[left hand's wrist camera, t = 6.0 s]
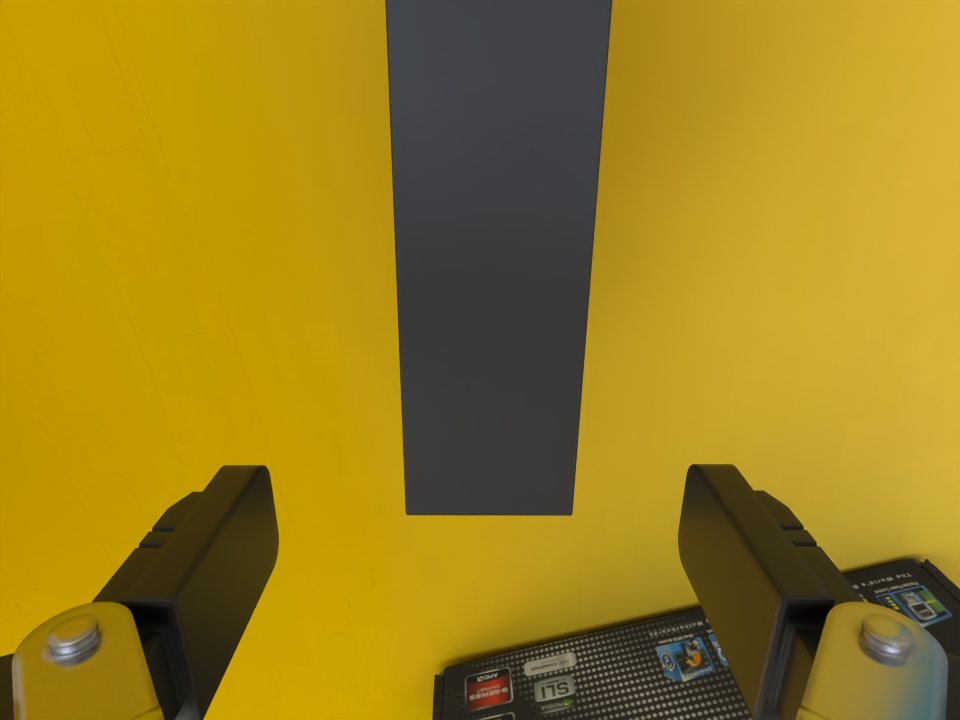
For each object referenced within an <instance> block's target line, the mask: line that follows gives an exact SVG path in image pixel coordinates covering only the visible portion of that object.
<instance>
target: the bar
mask: <svg viewBox="0 0 960 720" xmlns="http://www.w3.org/2000/svg"><path fill="white" fill-rule="evenodd" d="M385 3H386V28H387V53H388V78H389V103H390V128H391V154H392V179H393V204H394V229H395V254H396V279H397V305H398V330H399V355H400V380H401V405H402V430H403V455H404V481H405V506H406V515H572V511H573V498H574V485H575V473H576V460H577V447H578V434H579V421H580V408H581V395H582V383H583V370H584V357H585V344H586V331H587V318H588V305H589V293H590V280H591V267H592V254H593V241H594V228H595V215H596V203H597V190H598V177H599V164H600V151H601V138H602V126H603V113H604V100H605V87H606V74H607V61H608V48H609V36H610V23H611V10H612V0H385Z"/></svg>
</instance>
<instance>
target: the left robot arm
mask: <svg viewBox="0 0 960 720" xmlns="http://www.w3.org/2000/svg"><path fill="white" fill-rule="evenodd" d="M803 527H804V526H803V525H802V524H801V523H800V521H799V520H798V519H797V518H796V516H795V515H794V514H793V513H792V511H791V510H790V509H789V508H788V507H787V506H786V505H784V504H783V503H781V502H780V501H778V500H777V499H775V498H774V497H772V496H771V495H769V494H768V493H766V492H765V491H753V489H752V488H751V487H750V485H749V484H748V483H747V481H746V480H745V479H744V477H743V476H742V475H741V473H740V472H739V471H738V469H737V468H736V467H735V466H734V465H732V464H693V465H691V466H690V467H689V469H688V472H687V476H686V483H685V490H684V497H683V504H682V511H681V518H680V525H679V532H678V546H679V554H680V558H681V562H682V565H683V568H684V570H685V572H686V574H687V576H688V579H689V581H690V583H691V585H692V587H693V589H694V592H695V594H696V596H697V598H698V600H699V602H700V605H701V607H702V609H703V611H704V613H705V615H706V618H707V620H708V622H709V624H710V626H711V628H712V631H713V633H714V635H715V637H716V639H717V641H718V644H719V646H720V648H721V650H722V652H723V654H724V657H725V659H726V661H727V663H728V665H729V667H730V670H731V672H732V674H733V676H734V678H735V680H736V683H737V685H738V687H739V689H740V691H741V693H742V696H743V698H744V700H745V702H746V704H747V707H748V709H749V711H750V713H751V715H752V717H753V720H960V656H958V655H954V654H950V653H946V652H945V651H944V650H943V648H942V646H941V645H940V644H939V642H938V641H937V640H936V639H935V638H934V637H933V636H932V635H931V634H930V633H929V632H928V631H927V630H926V629H924V628H923V627H922V626H920V625H919V624H918V623H916V622H915V621H913V620H911V619H910V618H908V617H906V616H904V615H902V614H901V613H898V612H896V611H894V610H891V609H889V608H886V607H883V606H880V605H876V604H872V603H865V602H864V601H863V599H862V598H861V597H860V596H859V594H858V593H857V592H856V591H855V589H854V588H853V587H852V586H851V584H850V583H849V582H848V581H847V579H846V578H845V577H844V576H843V575H842V573H841V572H840V571H839V570H838V568H837V567H836V566H835V565H834V563H833V562H832V561H831V560H830V558H829V557H828V556H827V555H826V554H825V552H824V551H823V550H822V549H821V547H817V544H816V543H817V542H816V541H815V540H814V539H813V537H812V536H811V535H810V534H809V532H808V531H807V530H804V528H803ZM278 547H279V534H278V526H277V519H276V512H275V506H274V499H273V492H272V485H271V478H270V474H269V471H268V469H267V467H266V466H264V465H225V466H223V467H221V468H220V470H219V471H218V472H217V474H216V475H215V476H214V478H213V479H212V480H211V481H210V483H209V484H208V485H207V487H206V488H205V489H204V491H203V492H192V493H190V494H189V495H187V496H186V497H184V498H183V499H181V500H180V501H178V502H177V503H175V504H174V505H172V506H171V507H170V508H168V509H167V510H166V512H165V513H164V514H163V515H162V517H161V518H160V519H159V520H158V521H157V523H156V524H155V525H154V526H153V528H152V532H149V533H148V534H147V535H146V536H145V537H144V539H143V540H142V541H141V542H140V544H139V548H135V550H134V551H133V552H132V553H131V555H130V556H129V557H128V558H127V559H126V561H125V562H124V563H123V564H122V566H121V567H120V568H119V569H118V571H117V572H116V573H115V574H114V575H113V577H112V578H111V579H110V580H109V582H108V583H107V584H106V585H105V586H104V588H103V589H102V590H101V591H100V593H99V594H98V595H97V596H96V597H95V599H94V600H93V601H92V602H91V603H88V604H84V605H80V606H77V607H74V608H71V609H69V610H66V611H64V612H62V613H59V614H58V615H56V616H54V617H52V618H50V619H49V620H47V621H45V622H44V623H42V624H41V625H40V626H38V627H37V628H36V629H34V630H33V631H32V632H31V633H30V634H29V635H28V636H27V637H26V638H25V639H24V640H23V641H22V642H21V644H20V645H19V646H18V648H17V650H16V651H15V653H13V654H10V655H6V656H2V657H0V720H203V719H204V717H205V714H206V712H207V710H208V708H209V706H210V704H211V702H212V699H213V697H214V695H215V693H216V691H217V689H218V687H219V684H220V682H221V680H222V678H223V676H224V674H225V672H226V669H227V667H228V665H229V663H230V661H231V659H232V657H233V654H234V652H235V650H236V648H237V646H238V644H239V642H240V639H241V637H242V635H243V633H244V631H245V629H246V627H247V624H248V622H249V620H250V618H251V616H252V614H253V612H254V609H255V607H256V605H257V603H258V601H259V599H260V597H261V594H262V592H263V590H264V588H265V586H266V584H267V582H268V579H269V577H270V575H271V573H272V571H273V569H274V566H275V563H276V559H277V555H278Z"/></svg>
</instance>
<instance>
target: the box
mask: <svg viewBox="0 0 960 720" xmlns="http://www.w3.org/2000/svg"><path fill="white" fill-rule="evenodd" d="M843 576H844V577H845V578H846V579H847V581H848V582H849V583H850V584H851V586H852V587H853V588H854V589H855V591H856V592H857V593H858V594H859V596H860V597H861V598H862V599H863V601H864V602H865V603H872V604H876V605H880V606H883V607H886V608H889V609H891V610H894V611H896V612H898V613H901V614H902V615H904V616H906V617H908V618H910V619H911V620H913V621H915V622H916V623H918V624H919V625H920V626H922V627H923V628H924V629H926V630H927V631H928V632H929V633H930V634H931V635H932V636H933V637H934V638H935V639H936V640H937V641H938V642H939V644H940V645H941V646H942V648H943V650H944V651H945V652H946V653H950V654H954V655H958V656H960V589H959V588H958V587H957V586H956V585H955V584H954V583H952V582H951V581H950V580H949V579H948V578H947V577H946V576H945V575H944V574H943V573H942V572H941V571H940V570H939V569H938V568H937V567H936V566H934V565H933V564H932V563H930V562H929V561H928V559H925V562H924V563H923V562H919V561H915V560H914V559H909V560H904V561H900V562H896V563H892V564H888V565H884V566H879V567H875V568H871V569H867V570H862V571H858V572H854V573H850V574H845V575H843ZM432 720H753V717H752V715H751V713H750V711H749V709H748V707H747V704H746V702H745V700H744V698H743V696H742V693H741V691H740V689H739V687H738V685H737V683H736V680H735V678H734V676H733V674H732V672H731V670H730V667H729V665H728V663H727V661H726V659H725V657H724V654H723V652H722V650H721V648H720V646H719V644H718V641H717V639H716V637H715V635H714V633H713V631H712V628H711V626H710V624H709V622H708V620H707V618H706V615H705V613H704V611H703V609H702V608H699V609H695V610H690V611H685V612H681V613H678V614H673V615H669V616H665V617H660V618H655V619H651V620H647V621H643V622H639V623H634V624H630V625H626V626H621V627H617V628H613V629H609V630H604V631H600V632H596V633H592V634H587V635H583V636H578V637H574V638H570V639H566V640H562V641H557V642H553V643H549V644H545V645H540V646H536V647H532V648H527V649H523V650H519V651H514V652H510V653H506V654H502V655H497V656H493V657H489V658H485V659H480V660H476V661H472V662H467V663H463V664H458V665H453V666H450V667H446V668H445V669H444V670H443V671H442V672H440V674H439V676H438V675H437V674H436V675H435V680H434V697H433V718H432Z"/></svg>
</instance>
